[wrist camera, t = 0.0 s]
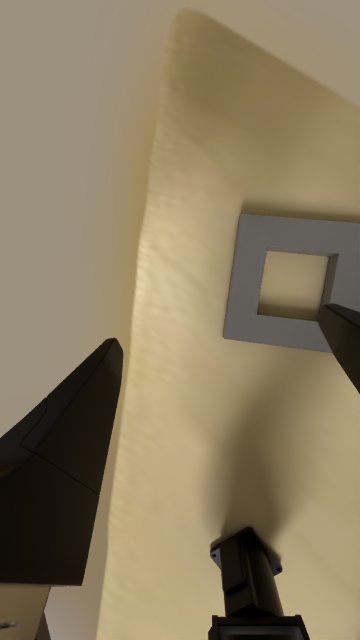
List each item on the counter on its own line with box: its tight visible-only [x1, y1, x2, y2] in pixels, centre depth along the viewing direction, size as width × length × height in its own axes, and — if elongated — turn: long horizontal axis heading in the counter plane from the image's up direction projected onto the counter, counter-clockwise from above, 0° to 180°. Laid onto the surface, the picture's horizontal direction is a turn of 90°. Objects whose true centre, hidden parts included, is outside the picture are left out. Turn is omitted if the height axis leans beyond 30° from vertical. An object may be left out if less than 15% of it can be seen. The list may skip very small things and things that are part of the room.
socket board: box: [223, 214, 360, 353], centre depth 22 cm, size 13×13×2 cm
